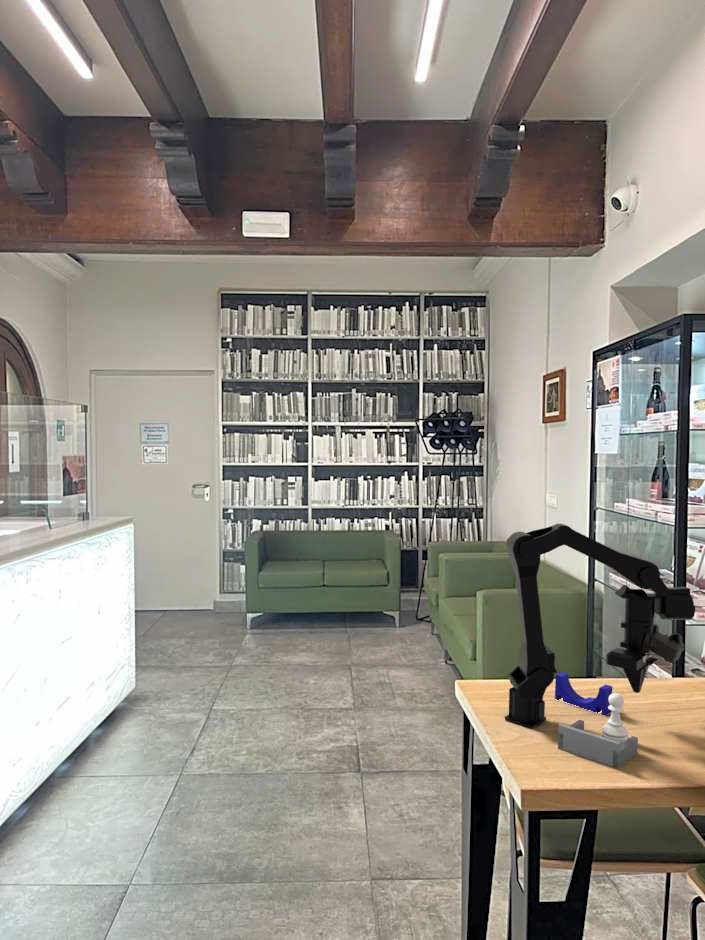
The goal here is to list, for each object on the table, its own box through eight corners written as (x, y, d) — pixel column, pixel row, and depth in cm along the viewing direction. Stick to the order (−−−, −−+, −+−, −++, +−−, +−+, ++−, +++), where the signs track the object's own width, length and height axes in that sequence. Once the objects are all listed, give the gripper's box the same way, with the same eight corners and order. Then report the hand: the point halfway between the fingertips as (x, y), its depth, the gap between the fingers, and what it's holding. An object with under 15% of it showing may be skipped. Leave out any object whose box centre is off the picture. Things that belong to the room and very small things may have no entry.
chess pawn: (595, 735, 136) (597, 691, 135) (614, 731, 138) (616, 687, 137) (614, 745, 131) (616, 699, 131) (634, 741, 133) (635, 696, 133)
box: (557, 748, 129) (558, 725, 129) (579, 734, 136) (579, 712, 136) (617, 768, 121) (618, 744, 121) (637, 753, 128) (638, 729, 128)
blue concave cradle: (614, 711, 149) (615, 684, 149) (604, 716, 146) (605, 689, 146) (564, 696, 158) (565, 670, 157) (554, 700, 154) (555, 675, 154)
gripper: (663, 635, 129) (660, 715, 130) (695, 618, 143) (692, 691, 143) (606, 623, 137) (603, 699, 138) (641, 608, 151) (638, 678, 151)
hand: (636, 692), depth 142 cm, fingers closed
